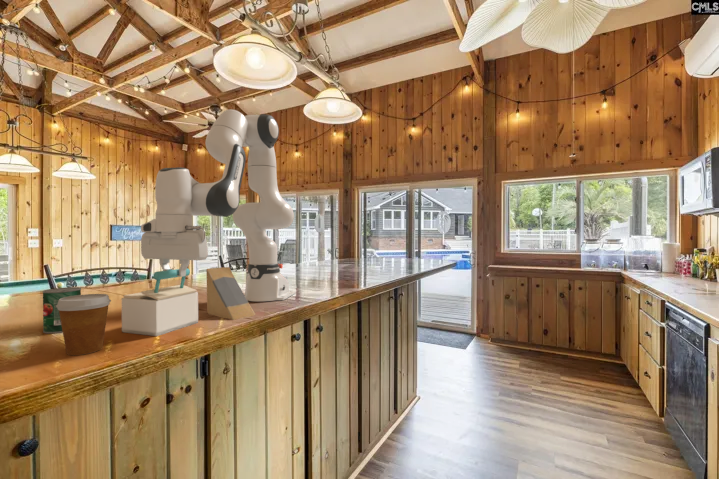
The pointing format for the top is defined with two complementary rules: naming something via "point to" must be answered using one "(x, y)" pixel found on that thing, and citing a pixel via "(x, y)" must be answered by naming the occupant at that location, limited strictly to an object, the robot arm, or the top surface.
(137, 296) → the back flap
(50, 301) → the canned tomato
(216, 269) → the sandwich container
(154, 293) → the front flap
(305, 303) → the top surface
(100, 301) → the disposable coffee cup
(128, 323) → the white carton
